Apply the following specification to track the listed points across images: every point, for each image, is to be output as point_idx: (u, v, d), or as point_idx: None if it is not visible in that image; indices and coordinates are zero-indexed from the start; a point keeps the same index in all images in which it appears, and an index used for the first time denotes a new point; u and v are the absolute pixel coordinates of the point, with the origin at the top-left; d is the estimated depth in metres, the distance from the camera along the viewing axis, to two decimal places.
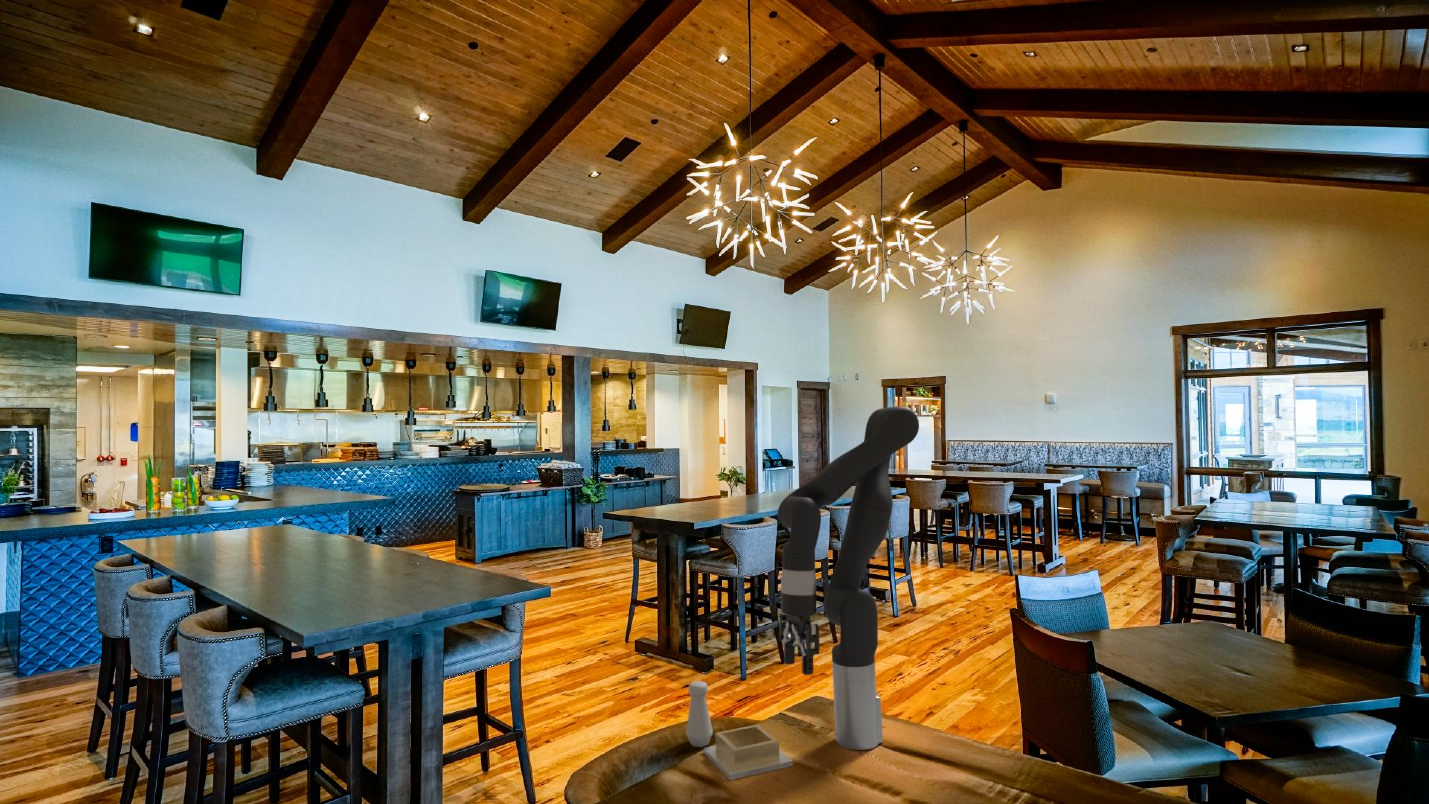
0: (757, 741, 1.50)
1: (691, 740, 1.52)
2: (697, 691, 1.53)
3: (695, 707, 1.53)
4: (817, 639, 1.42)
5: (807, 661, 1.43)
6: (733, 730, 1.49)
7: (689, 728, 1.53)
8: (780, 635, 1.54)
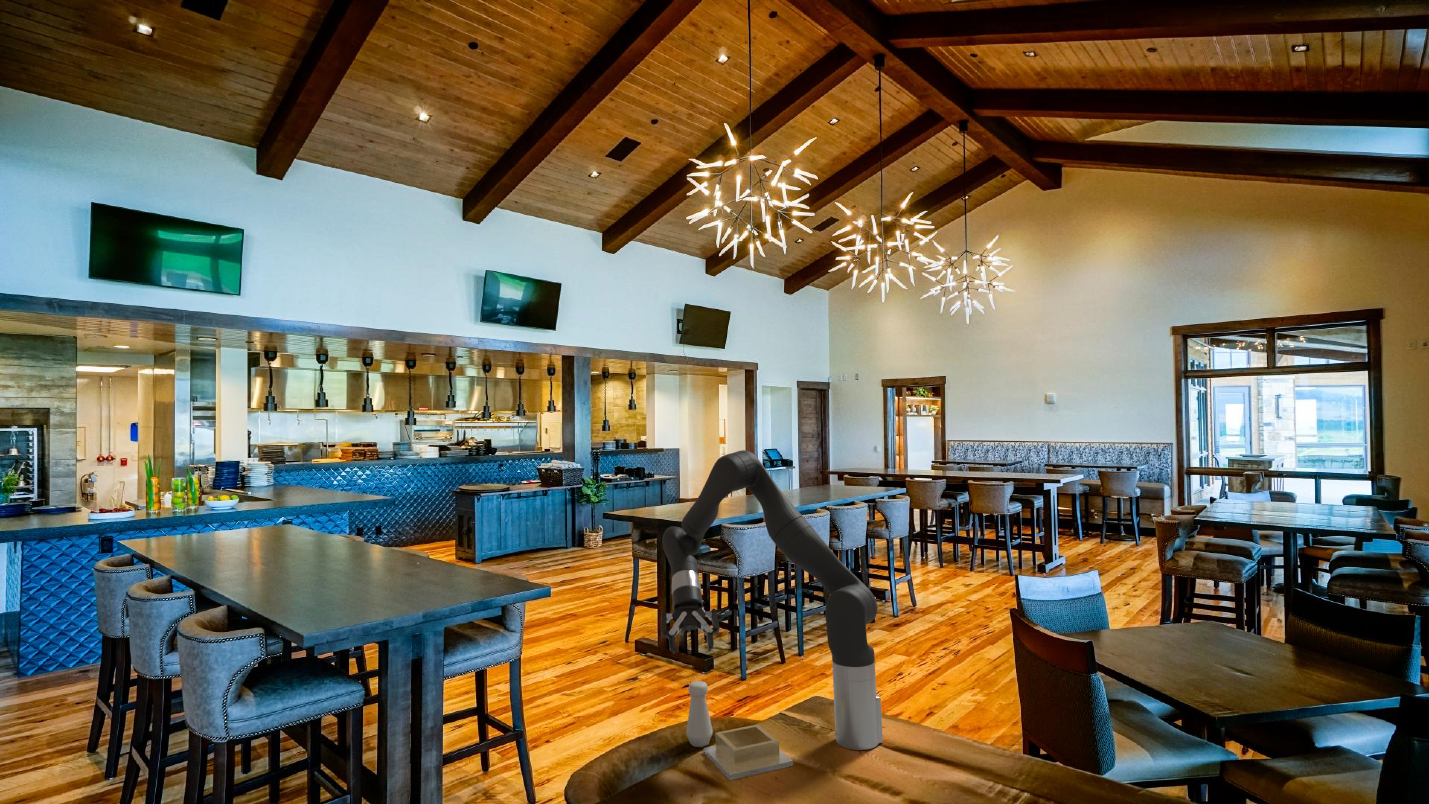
0: (757, 741, 1.50)
1: (691, 740, 1.52)
2: (697, 691, 1.53)
3: (695, 707, 1.53)
4: (661, 622, 1.71)
5: None
6: (733, 730, 1.49)
7: (689, 728, 1.53)
8: None
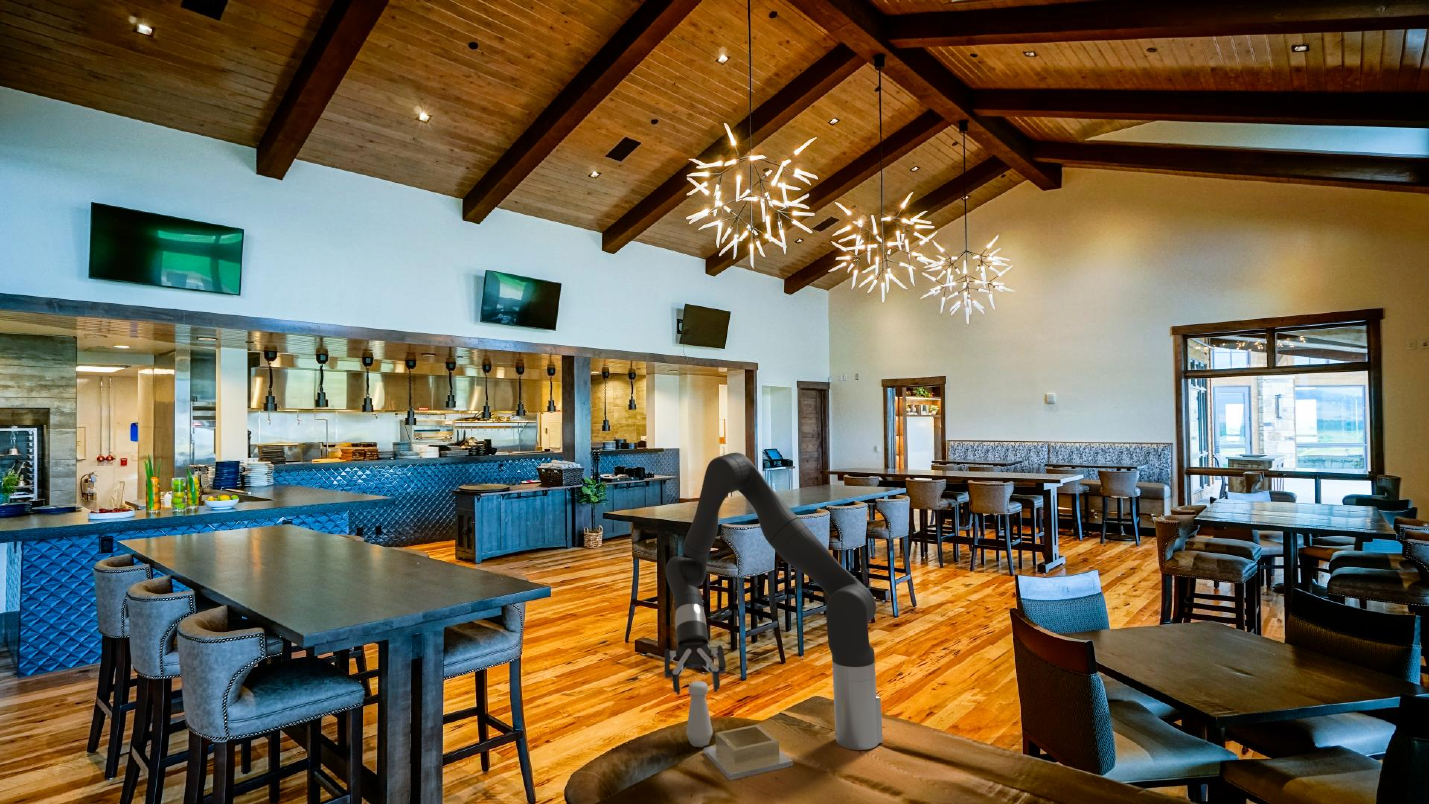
0: (757, 741, 1.50)
1: (691, 740, 1.52)
2: (697, 691, 1.53)
3: (695, 707, 1.53)
4: None
5: None
6: (733, 730, 1.49)
7: (689, 728, 1.53)
8: None
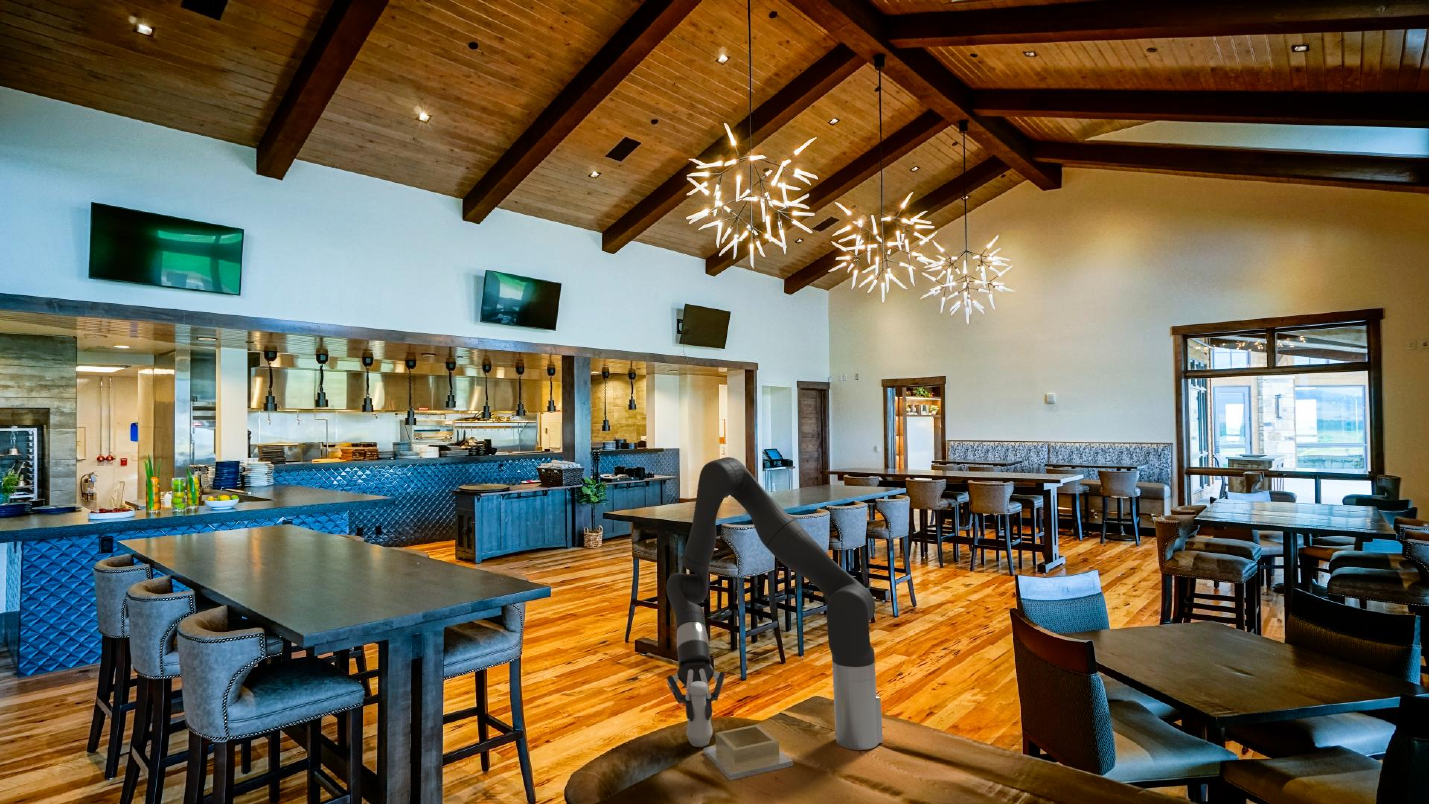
0: (757, 741, 1.50)
1: (691, 740, 1.52)
2: (697, 691, 1.53)
3: (695, 707, 1.53)
4: (672, 688, 1.56)
5: None
6: (733, 730, 1.49)
7: (689, 728, 1.53)
8: None
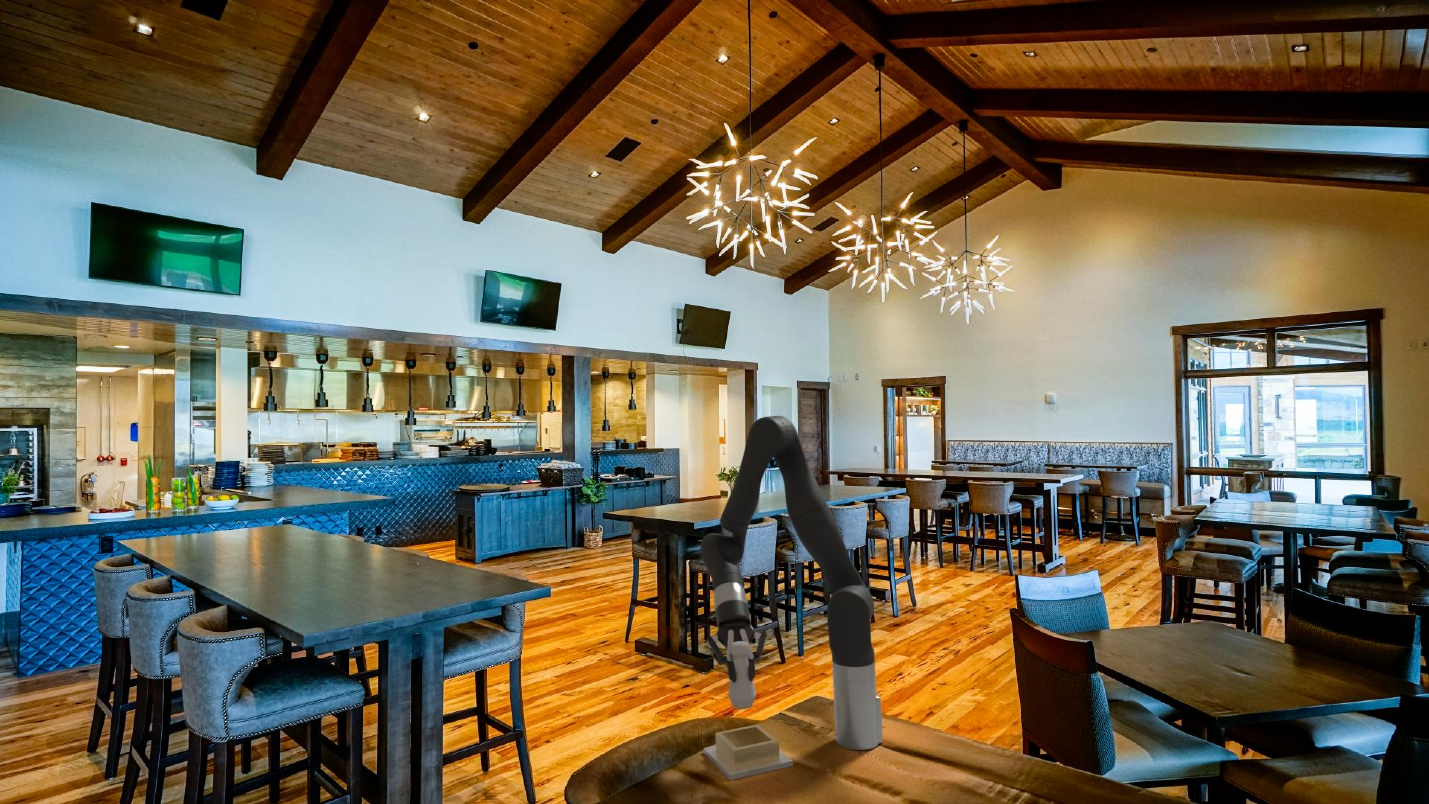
0: (757, 741, 1.50)
1: (734, 702, 1.45)
2: (740, 650, 1.46)
3: (738, 667, 1.46)
4: (712, 649, 1.49)
5: None
6: (733, 730, 1.49)
7: (731, 690, 1.45)
8: None
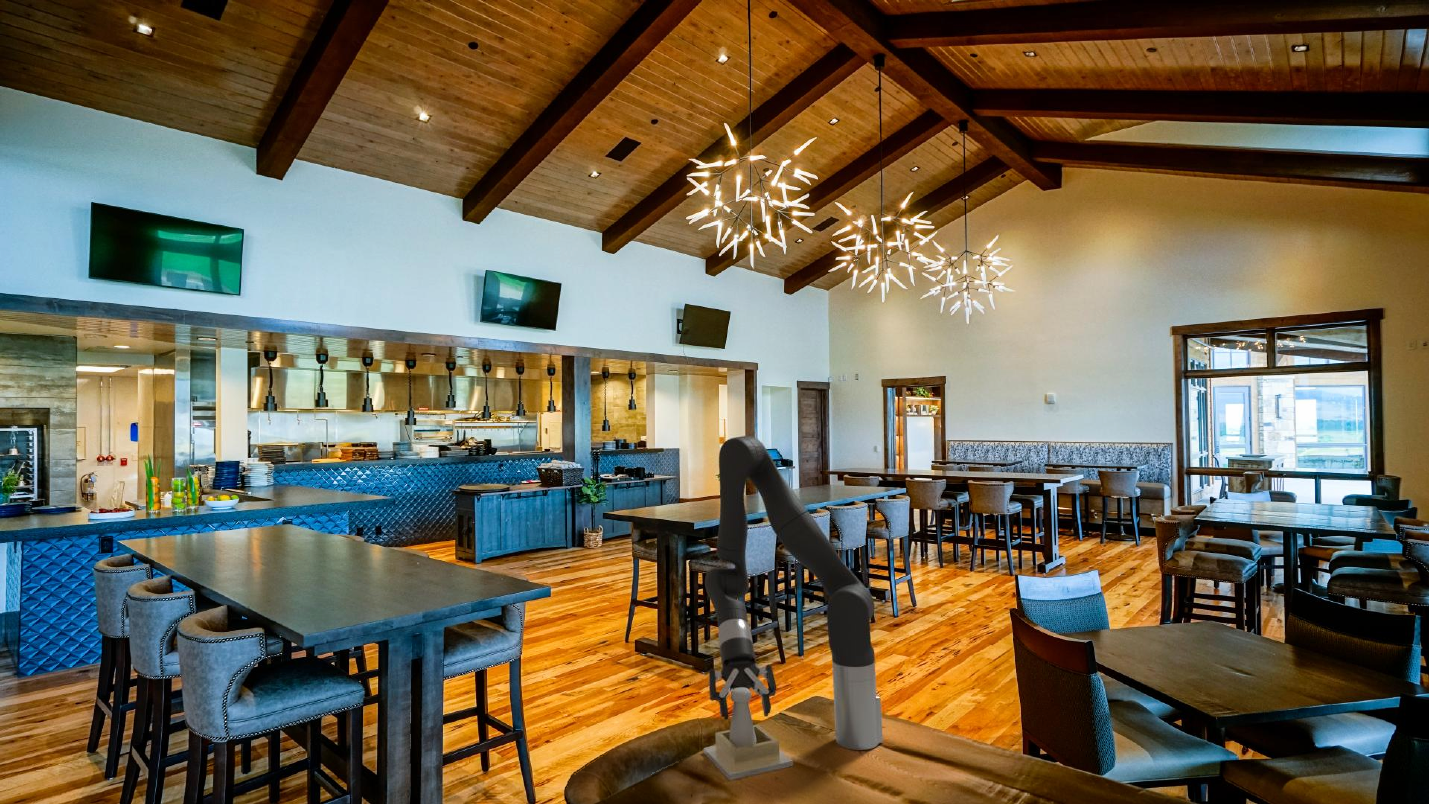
0: (757, 741, 1.50)
1: None
2: (741, 697, 1.45)
3: (738, 714, 1.45)
4: (709, 682, 1.49)
5: None
6: None
7: (732, 737, 1.45)
8: None
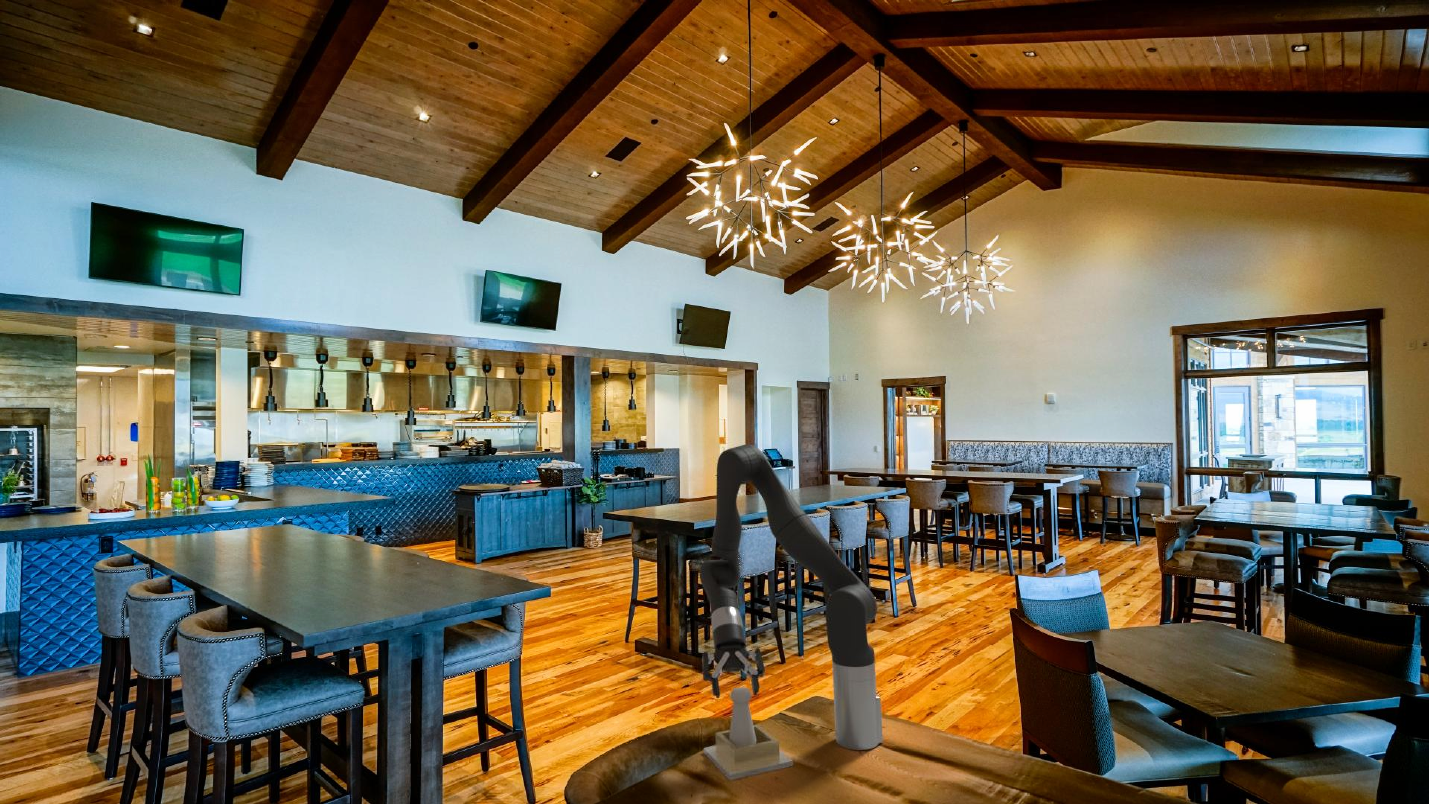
0: (757, 741, 1.50)
1: None
2: (741, 697, 1.45)
3: (738, 714, 1.45)
4: (703, 664, 1.61)
5: None
6: None
7: (732, 737, 1.45)
8: None
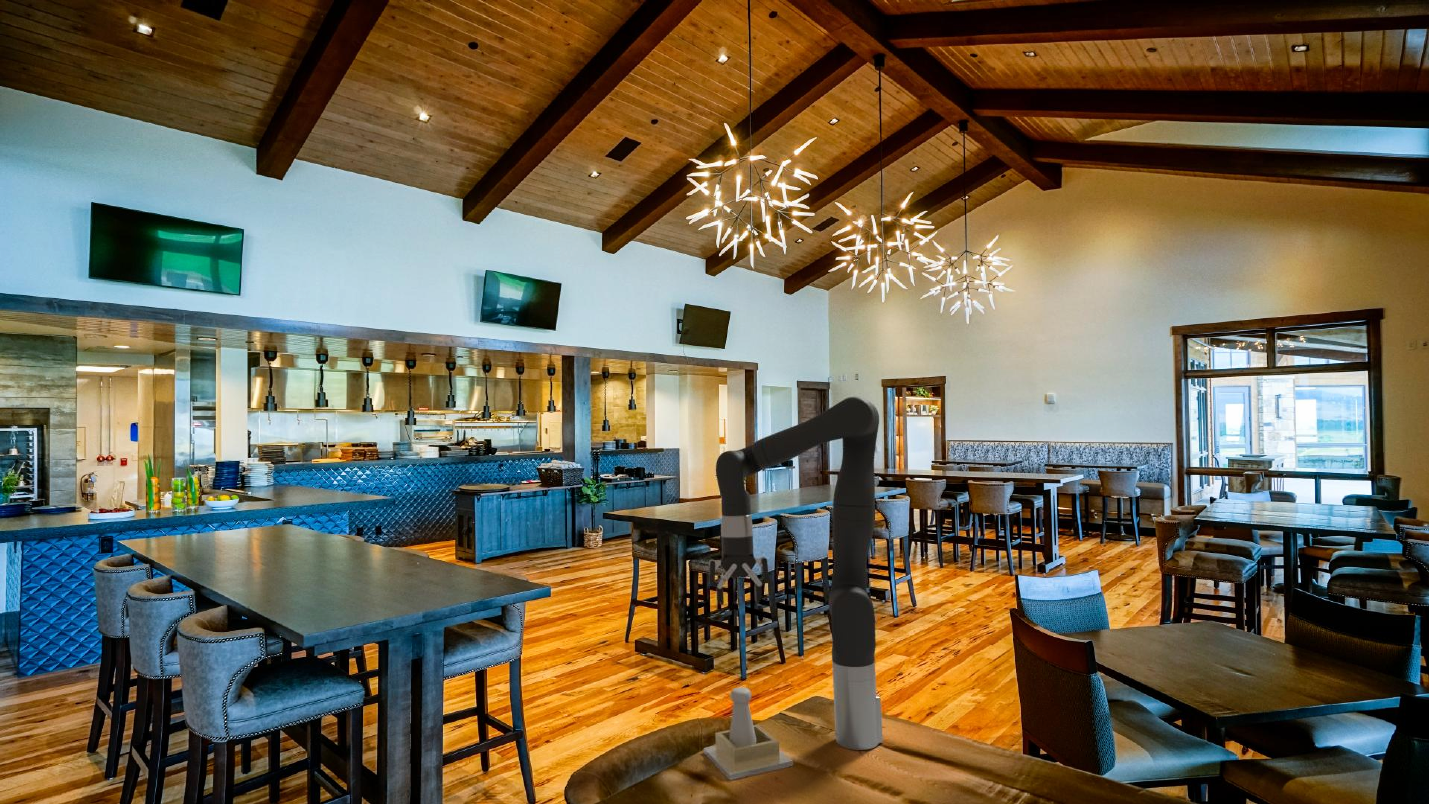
0: (757, 741, 1.50)
1: None
2: (741, 697, 1.45)
3: (738, 714, 1.45)
4: (709, 573, 1.64)
5: None
6: None
7: (732, 737, 1.45)
8: None
